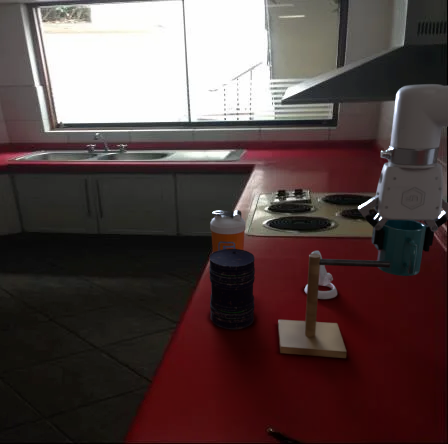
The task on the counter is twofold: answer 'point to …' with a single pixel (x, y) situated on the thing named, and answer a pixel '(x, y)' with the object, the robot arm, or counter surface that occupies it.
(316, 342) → the mug stand
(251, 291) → the storage jar
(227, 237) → the shaker bottle
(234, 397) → the counter surface
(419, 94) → the robot arm
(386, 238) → the mug
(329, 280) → the vr controller
